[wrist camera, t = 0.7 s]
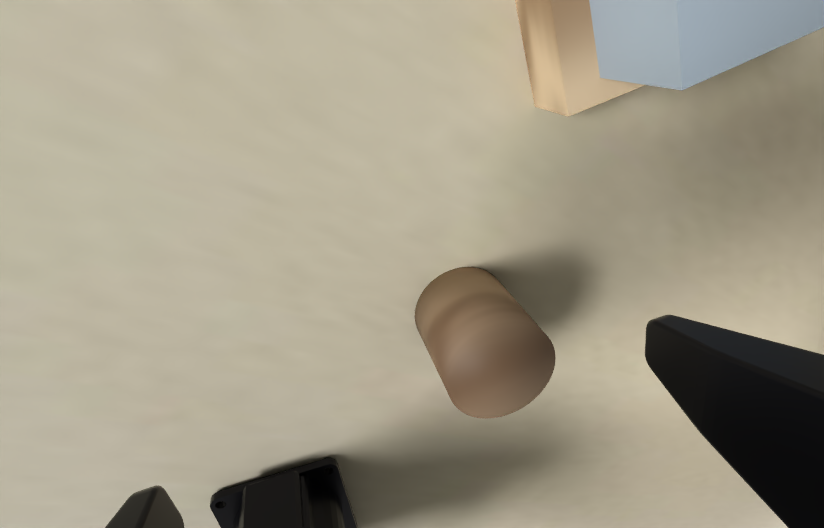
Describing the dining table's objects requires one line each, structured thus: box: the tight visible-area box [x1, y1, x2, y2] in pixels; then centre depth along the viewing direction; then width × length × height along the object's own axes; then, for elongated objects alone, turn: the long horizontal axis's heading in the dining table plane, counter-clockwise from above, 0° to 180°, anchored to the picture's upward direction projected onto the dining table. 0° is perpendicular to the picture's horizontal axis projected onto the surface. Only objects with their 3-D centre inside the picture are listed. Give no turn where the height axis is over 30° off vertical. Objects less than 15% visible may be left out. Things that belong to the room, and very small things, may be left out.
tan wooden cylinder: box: [415, 267, 555, 418], centre depth 21 cm, size 5×5×5 cm
